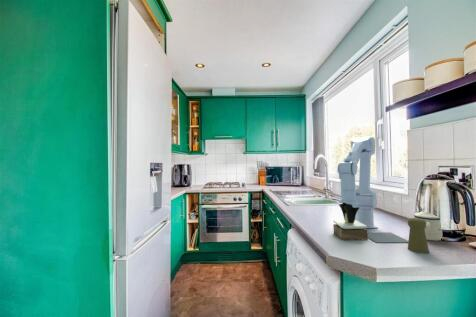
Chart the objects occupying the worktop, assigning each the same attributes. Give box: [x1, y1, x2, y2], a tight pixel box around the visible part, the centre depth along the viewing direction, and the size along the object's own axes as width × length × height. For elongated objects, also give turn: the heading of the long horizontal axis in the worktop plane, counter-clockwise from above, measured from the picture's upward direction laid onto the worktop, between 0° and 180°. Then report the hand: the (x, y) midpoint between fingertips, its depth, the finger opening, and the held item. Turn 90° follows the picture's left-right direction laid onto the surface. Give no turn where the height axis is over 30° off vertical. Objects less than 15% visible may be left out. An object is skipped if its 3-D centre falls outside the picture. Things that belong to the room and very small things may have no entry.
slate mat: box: [367, 232, 409, 244], centre depth 97 cm, size 13×13×1 cm
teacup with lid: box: [413, 210, 443, 242], centre depth 95 cm, size 12×9×12 cm
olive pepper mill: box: [407, 217, 430, 254], centre depth 83 cm, size 6×6×11 cm
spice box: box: [332, 223, 369, 241], centre depth 100 cm, size 10×10×4 cm
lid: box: [333, 213, 368, 229], centre depth 100 cm, size 10×10×5 cm
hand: (349, 221), depth 100 cm, fingers closed on lid, 3 cm apart
